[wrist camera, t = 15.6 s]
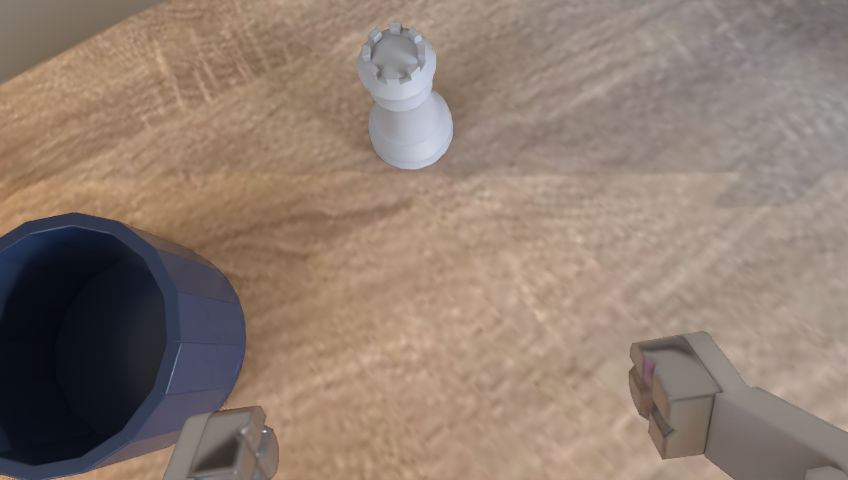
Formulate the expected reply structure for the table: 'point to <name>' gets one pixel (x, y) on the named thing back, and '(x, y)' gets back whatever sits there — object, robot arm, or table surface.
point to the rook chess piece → (404, 98)
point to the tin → (106, 344)
